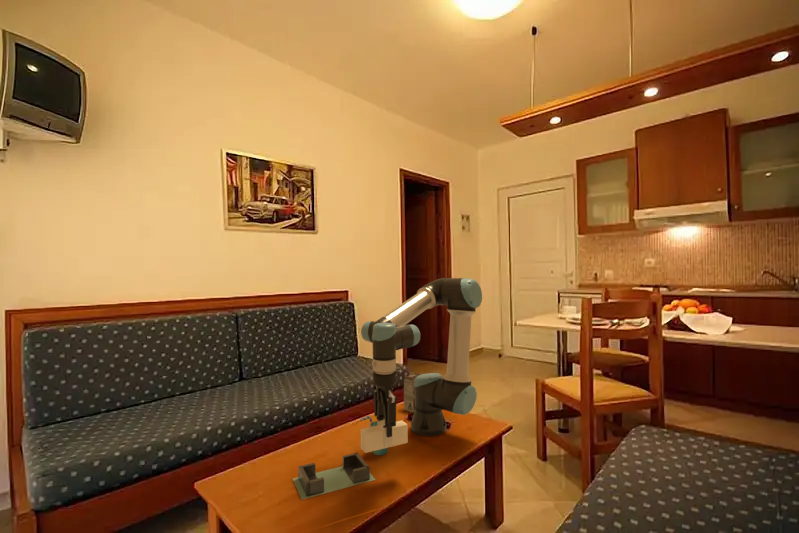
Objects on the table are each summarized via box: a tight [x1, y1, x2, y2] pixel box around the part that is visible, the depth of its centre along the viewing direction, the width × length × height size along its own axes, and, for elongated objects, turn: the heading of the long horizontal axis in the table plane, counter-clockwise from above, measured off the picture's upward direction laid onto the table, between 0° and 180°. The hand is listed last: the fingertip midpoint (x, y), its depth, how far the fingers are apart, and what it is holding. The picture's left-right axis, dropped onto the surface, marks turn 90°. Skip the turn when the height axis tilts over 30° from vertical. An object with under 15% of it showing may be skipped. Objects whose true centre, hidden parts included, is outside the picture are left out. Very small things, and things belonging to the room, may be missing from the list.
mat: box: [292, 465, 376, 501], centre depth 129 cm, size 24×13×1 cm, turn 117°
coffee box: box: [403, 372, 422, 413], centre depth 192 cm, size 9×6×16 cm
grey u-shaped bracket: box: [342, 452, 371, 484], centre depth 133 cm, size 5×11×4 cm, turn 27°
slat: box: [360, 419, 409, 454], centre depth 128 cm, size 15×4×6 cm, turn 117°
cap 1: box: [297, 462, 324, 497], centre depth 126 cm, size 5×11×4 cm, turn 27°
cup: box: [360, 415, 388, 456], centre depth 147 cm, size 14×8×15 cm, turn 123°
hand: (384, 442), depth 128 cm, fingers closed on slat, 4 cm apart
